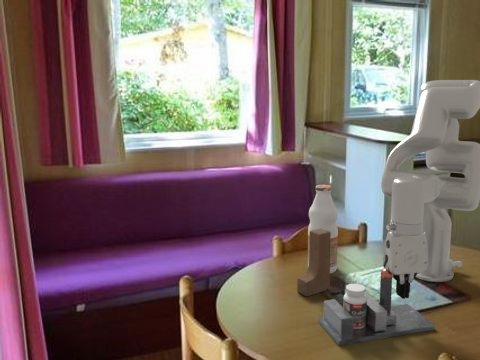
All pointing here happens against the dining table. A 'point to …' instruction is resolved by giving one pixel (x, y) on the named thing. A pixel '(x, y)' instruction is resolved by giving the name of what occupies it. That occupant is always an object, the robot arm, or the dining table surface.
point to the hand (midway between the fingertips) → (402, 296)
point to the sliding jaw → (381, 305)
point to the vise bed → (343, 332)
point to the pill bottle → (356, 304)
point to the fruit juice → (325, 220)
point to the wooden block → (316, 264)
